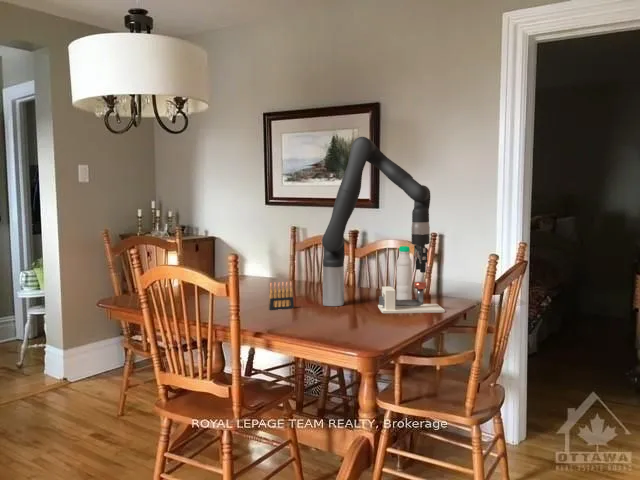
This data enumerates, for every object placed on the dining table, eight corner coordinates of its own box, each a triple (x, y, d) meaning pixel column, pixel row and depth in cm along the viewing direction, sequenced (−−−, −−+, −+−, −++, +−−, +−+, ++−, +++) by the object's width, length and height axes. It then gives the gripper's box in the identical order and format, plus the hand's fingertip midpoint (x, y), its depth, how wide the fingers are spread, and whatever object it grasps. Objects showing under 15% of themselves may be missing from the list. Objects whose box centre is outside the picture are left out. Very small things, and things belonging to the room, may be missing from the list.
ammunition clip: (292, 307, 248) (292, 280, 247) (293, 308, 246) (293, 281, 245) (268, 309, 245) (268, 281, 244) (269, 310, 243) (269, 282, 242)
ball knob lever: (380, 307, 240) (380, 283, 239) (378, 305, 245) (378, 282, 244) (427, 307, 241) (427, 283, 240) (424, 304, 246) (424, 281, 245)
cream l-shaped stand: (382, 313, 236) (382, 291, 235) (378, 306, 249) (378, 286, 248) (444, 312, 237) (445, 290, 236) (437, 306, 250) (437, 285, 249)
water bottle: (411, 302, 259) (411, 247, 257) (395, 301, 260) (396, 247, 258) (412, 299, 266) (412, 245, 263) (396, 298, 267) (397, 245, 265)
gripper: (408, 231, 247) (408, 268, 249) (415, 234, 233) (415, 273, 235) (425, 231, 248) (425, 268, 249) (433, 233, 233) (433, 273, 235)
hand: (420, 271), depth 242 cm, fingers open, 8 cm apart
